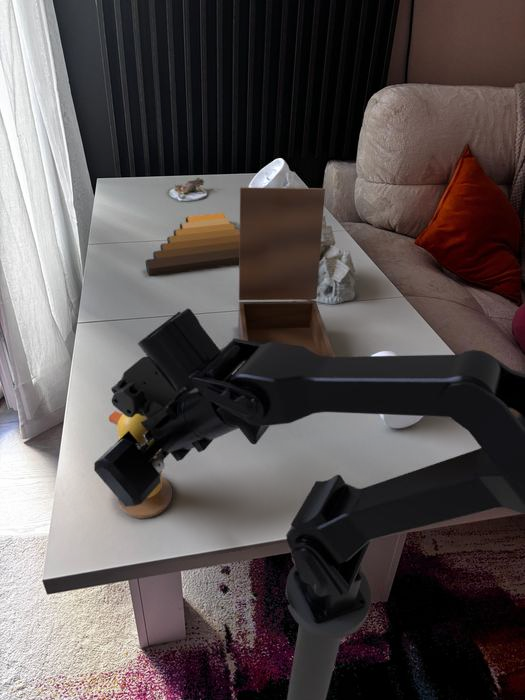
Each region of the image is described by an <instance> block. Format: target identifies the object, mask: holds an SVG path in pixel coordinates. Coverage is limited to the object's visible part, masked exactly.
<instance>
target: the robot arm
mask: <svg viewBox="0 0 525 700" xmlns="http://www.w3.org/2000/svg"><path fill="white" fill-rule="evenodd" d="M137 345H138V347H139V348H140V350H141V351H142V352H143V353H144V354H145V355H146V356H143V357H141V358H140V359H138V360H137V361H136V362H135V363H134V364H132V365H131V366H130V367H129V368H127V369H126V370H125V371H124V372H123V374H122V375H121V379H120V380H118V382H117V383H116V384H115V385H113V386H112V387H111V389H110V390H111V392H112V394H113V395H112V398H111V403H112V406H114V407H115V408H116V409H117V410H118V411H120V412H121V414H125V415H126V416H127V417H133V416H134V415H135V414H140V415H141V416H144V415H145V416H146V418H145V419H144V420H143V421H142V422H141V424H142V425H143V426H144V427H145V429H146V430H147V432H146V433H145V434H144V435H143V438H144V440H145V441H146V442H148V443H149V442H150V441H151V440H152V438H153V439H154V440H153V441H152V442H151V443H150V444H149V445H148V444H147V443H146V442H145V443H143V444H142V445H141V444H140V443H139V442H138V441H137V440H136V439H135V438H134V436H133V435H132V434H131V433H130V432H129V431H128V432H127V433H126V434H125V435H124V436H123V437H122V438H121V439H119V438H118V440H117V441H116V442H115V443H114V444H113V445H112V446H110V447H109V448H108V449H107V450H106V451H105V452H104V453H103V454H102V455H101V456H100V457H99V458H98V459H97V460H95V462H94V463H93V464H94V467H93V470H94V472H95V473H96V475H98V476H99V478H100V479H101V480H102V481H103V482H104V484H105V485H106V486H107V487H108V488H109V490H110V491H111V492H112V493H113V494H114V496H116V497H117V500H118V499H119V500H120V501H121V502H122V503H123V504H124V506H125V507H134V506H137V505H140V504H142V503H143V501H144V500H145V499H146V498H147V497H148V496H149V495H150V494H151V492H152V491H153V490H154V489H155V488H156V487H157V486H158V485H159V483H160V482H161V481H160V473H161V474H162V472H163V470H164V469H165V464H166V463H165V459H166V458H167V457H168V456H169V455H171V456H172V457H173V458H174V459H175V460H176V462H179V461H182V460H183V459H184V458H185V457H186V456H187V455H188V454H189V453H190V451H192V449H195V450H196V451H197V452H198V453H202V452H203V451H205V450H206V449H207V448H208V447H209V446H210V444H211V443H212V442H213V441H214V440H215V439H217V438H220V437H222V436H224V435H227V434H229V433H231V432H234V431H236V430H238V429H239V430H240V431H241V433H242V435H244V437H245V438H246V439H247V440H248V441H249V443H250V444H251V445H256V444H258V442H259V441H260V439H261V438H263V437H262V436H263V435H264V434H265V433H266V432H267V430H268V429H269V428H270V426H279V425H287V424H288V425H289V424H292V423H294V422H296V421H299V420H302V419H304V418H306V417H309V416H311V415H314V414H320V413H338V414H363V415H364V414H365V415H379V414H384V415H408V416H423V417H433V418H434V417H435V418H450V419H451V420H453V421H454V422H455V423H457V424H458V425H460V426H461V427H462V428H464V429H465V430H467V432H468V433H470V435H471V436H472V437H473V439H474V440H475V441H476V443H477V444H478V446H479V447H480V448H477V449H474V450H471V451H469V452H466V453H462V454H459V455H456V456H454V457H450V458H448V459H445V460H441V461H438V462H435V463H433V464H430V465H427V466H424V467H421V468H418V469H416V470H412V471H409V472H407V473H403V474H402V475H401V474H400V475H398V476H395V477H391V478H389V479H386V480H383V481H379V482H377V483H375V484H371V485H368V486H365V487H361V488H358V487H356V486H353V485H351V484H348V483H346V481H345V480H344V479H343V476H342V475H341V474H336V475H334V476H333V477H331V478H330V479H327V480H316V481H315V482H314V483H313V486H312V487H311V489H310V491H309V492H308V493H307V495H306V497H305V499H304V501H303V502H302V504H301V506H300V508H299V510H298V511H297V513H296V515H295V516H294V518H293V520H292V521H291V523H290V528H289V530H288V531H287V533H286V535H285V538H286V542H287V545H288V547H289V548H290V552H291V555H292V558H293V562H294V565H295V564H296V567H297V571H295V572H294V575H293V577H294V579H295V581H296V584H297V586H298V588H299V590H300V593H301V595H302V597H303V599H304V601H305V604H306V606H307V608H308V610H309V612H310V615H311V617H312V619H313V621H314V622H315V623H317V624H319V623H322V622H325V621H328V620H330V619H333V618H336V617H339V616H342V615H344V614H347V613H350V612H353V611H356V610H358V609H361V608H364V607H365V605H366V601H365V599H364V597H363V595H362V593H361V592H360V590H359V586H360V582H361V575H360V574H359V572H360V570H361V568H362V563H363V561H364V560H365V559H364V558H365V556H366V554H367V552H368V549H369V547H370V545H371V542H372V541H373V540H376V539H381V538H384V537H388V536H392V535H396V534H399V533H404V532H408V531H411V530H417V529H420V528H424V527H428V526H432V525H436V524H440V523H444V522H448V521H452V520H456V519H459V518H463V517H468V516H472V515H475V514H476V515H477V514H480V513H484V512H488V511H493V510H495V509H502V508H505V509H507V510H511V511H513V512H516V513H519V514H521V515H522V514H523V515H525V372H522V371H518V370H515V369H512V368H510V367H509V366H507V365H506V364H505V363H503V362H502V361H500V360H499V359H497V357H495V356H493V355H492V354H489V353H488V352H485V351H484V350H477V349H472V350H471V349H470V350H466V351H464V352H461V353H458V354H457V353H456V354H425V355H424V354H419V355H418V354H416V355H398V356H371V355H369V356H365V355H364V356H361V355H360V356H335V357H327V356H320V355H317V354H315V353H314V352H312V351H310V350H309V349H307V348H305V347H303V346H298V345H290V344H283V343H276V342H270V343H265V344H260V343H255V342H250V341H246V340H241V339H239V338H233V339H232V340H230V342H229V343H227V344H226V346H224V347H222V348H221V349H220V348H219V347H218V346H217V344H216V343H215V342H214V341H213V339H212V337H210V335H209V334H208V333H207V331H206V330H205V329H204V327H203V326H202V325H201V323H200V321H199V319H198V318H197V316H196V315H195V313H194V311H192V310H191V309H190V308H186V309H185V310H182V311H178V312H176V313H175V314H174V315H173V316H171V317H169V318H168V319H167V320H166V321H164V322H163V323H162V324H160V325H159V326H158V327H157V328H155V329H154V330H153V331H150V333H149V334H147V335H146V336H145V337H143V338H142V339H141V340H140V341H138V342H137ZM244 361H245V362H244ZM243 362H244V363H243ZM242 363H243V364H242ZM511 410H514V411H516V412H517V413H518V414H519V415H520V416H518V417H516V416H515V414H514V413H513V411H511ZM158 451H159V452H158ZM157 452H158V453H157ZM156 453H157V454H156ZM155 456H156V458H154V457H155ZM296 574H298V575H299V576H296ZM360 602H362V603H363V604H360ZM316 617H319V620H317V619H316Z"/></svg>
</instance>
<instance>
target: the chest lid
mask: <svg viewBox="0 0 525 700" xmlns="http://www.w3.org/2000/svg"><path fill="white" fill-rule="evenodd" d="M325 195H326V189H325V188H321V187H320V188H319V187H318V188H317V187H308V188H307V187H299V188H254V187H249V186H248V187H247V186H246V187H239V234H240V242H239V264H238V300H239V301H312V300H311V299H317V288H318V275H319V262H320V249H321V236H322V222H323V215H324V209H325V207H324V206H325Z"/></svg>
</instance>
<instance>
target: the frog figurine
mask: <svg viewBox="0 0 525 700" xmlns="http://www.w3.org/2000/svg"><path fill="white" fill-rule="evenodd" d="M204 183H205V180H204V179H202V178H199V177H197V178H196V179H193V180H188V181H187V182H186V184H185V185H183V184H177V185H176V184H174V187H173V188H172V189H170V191H169V192H168V194H169V196H170V197H172V198H174V199H176V200H178V201H179V202H193V201H200V200H202V199H205V198H206V197H207V195H208V191H207V190H206V189H204V188H201V187H200V186H204Z"/></svg>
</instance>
